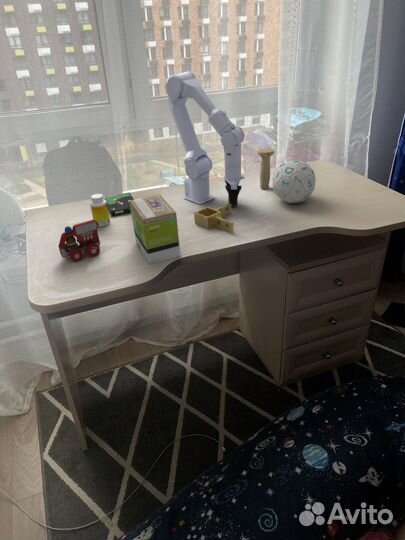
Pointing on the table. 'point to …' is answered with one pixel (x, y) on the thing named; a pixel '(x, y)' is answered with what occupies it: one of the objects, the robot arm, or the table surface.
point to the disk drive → (119, 204)
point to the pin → (233, 204)
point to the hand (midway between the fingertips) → (233, 201)
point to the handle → (265, 166)
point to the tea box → (155, 228)
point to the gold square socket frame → (214, 218)
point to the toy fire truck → (80, 241)
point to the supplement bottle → (99, 210)
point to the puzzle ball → (294, 181)
